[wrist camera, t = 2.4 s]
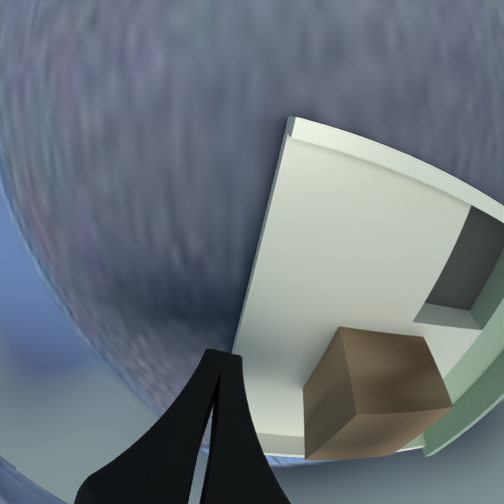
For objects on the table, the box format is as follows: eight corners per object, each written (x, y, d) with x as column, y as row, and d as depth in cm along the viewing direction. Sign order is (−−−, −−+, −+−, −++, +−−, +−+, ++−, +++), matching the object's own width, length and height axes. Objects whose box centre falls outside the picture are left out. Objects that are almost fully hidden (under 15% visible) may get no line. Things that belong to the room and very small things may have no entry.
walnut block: (423, 336, 10) (453, 406, 7) (378, 392, 12) (391, 455, 9) (339, 326, 10) (356, 414, 7) (302, 388, 12) (304, 459, 9)
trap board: (547, 239, 9) (588, 276, 5) (421, 414, 18) (432, 454, 14) (288, 116, 9) (299, 117, 5) (218, 404, 17) (208, 459, 13)
